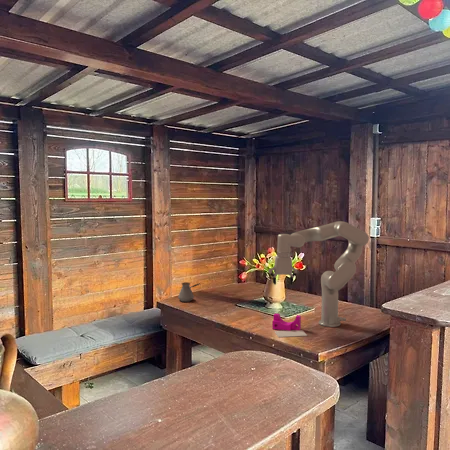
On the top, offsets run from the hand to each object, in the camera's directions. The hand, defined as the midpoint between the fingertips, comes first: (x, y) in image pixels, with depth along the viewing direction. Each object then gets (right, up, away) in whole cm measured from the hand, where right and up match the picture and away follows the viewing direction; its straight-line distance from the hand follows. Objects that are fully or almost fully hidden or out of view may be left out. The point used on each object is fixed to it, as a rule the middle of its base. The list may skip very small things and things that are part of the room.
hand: (282, 284), depth 235 cm
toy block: (+1, -25, -6) cm, 26 cm away
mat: (+2, -25, -14) cm, 29 cm away
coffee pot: (-59, -21, +55) cm, 83 cm away
